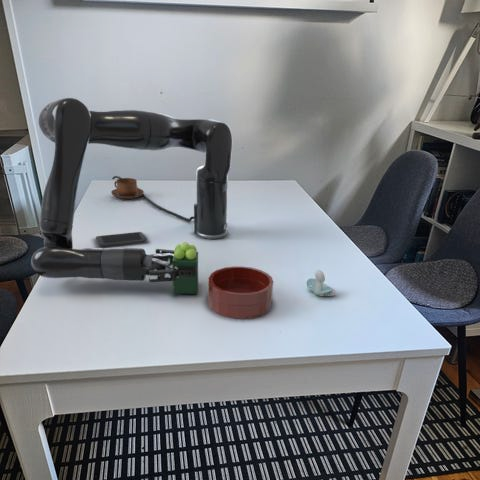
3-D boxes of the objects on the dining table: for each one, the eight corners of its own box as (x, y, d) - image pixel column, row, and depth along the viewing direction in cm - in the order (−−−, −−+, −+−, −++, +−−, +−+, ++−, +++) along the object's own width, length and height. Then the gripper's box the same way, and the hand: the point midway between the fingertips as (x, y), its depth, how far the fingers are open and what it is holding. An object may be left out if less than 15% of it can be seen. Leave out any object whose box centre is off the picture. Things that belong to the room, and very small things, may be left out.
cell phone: (95, 238, 137) (95, 236, 136) (141, 233, 142) (141, 231, 141) (99, 247, 131) (98, 244, 131) (147, 242, 136) (147, 239, 135)
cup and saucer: (106, 199, 171) (104, 183, 168) (119, 191, 181) (117, 175, 178) (137, 202, 170) (136, 185, 166) (148, 193, 180) (147, 178, 177)
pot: (196, 306, 104) (195, 283, 101) (229, 283, 115) (230, 261, 112) (252, 325, 98) (253, 301, 95) (281, 299, 109) (283, 276, 106)
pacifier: (321, 284, 117) (302, 288, 114) (325, 261, 114) (306, 265, 111) (340, 296, 112) (321, 301, 109) (344, 273, 108) (325, 277, 106)
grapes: (173, 293, 108) (171, 247, 102) (175, 282, 113) (174, 238, 107) (197, 294, 108) (196, 247, 102) (198, 283, 113) (198, 238, 107)
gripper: (116, 261, 99) (195, 263, 99) (128, 237, 111) (197, 239, 112) (119, 292, 102) (195, 294, 103) (130, 265, 115) (198, 267, 116)
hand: (196, 265), depth 108 cm, fingers closed on grapes, 5 cm apart
